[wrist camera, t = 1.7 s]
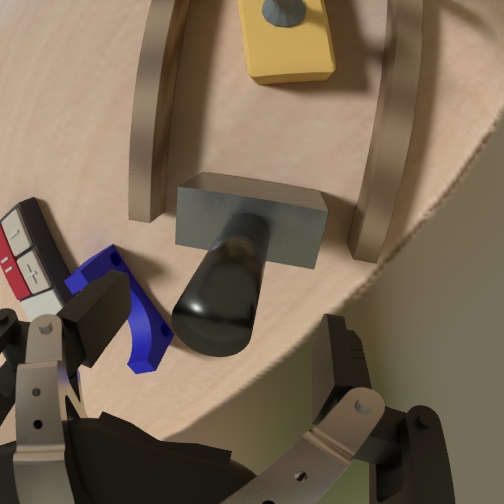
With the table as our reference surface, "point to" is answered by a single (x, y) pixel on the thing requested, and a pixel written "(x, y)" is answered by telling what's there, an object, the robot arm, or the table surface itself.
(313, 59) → the rubber stamp
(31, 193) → the table surface
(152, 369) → the blue pipe saddle
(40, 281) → the calculator
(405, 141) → the frame
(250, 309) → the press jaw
